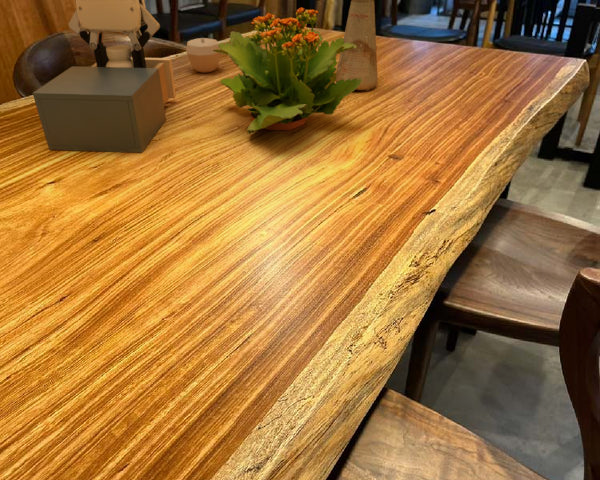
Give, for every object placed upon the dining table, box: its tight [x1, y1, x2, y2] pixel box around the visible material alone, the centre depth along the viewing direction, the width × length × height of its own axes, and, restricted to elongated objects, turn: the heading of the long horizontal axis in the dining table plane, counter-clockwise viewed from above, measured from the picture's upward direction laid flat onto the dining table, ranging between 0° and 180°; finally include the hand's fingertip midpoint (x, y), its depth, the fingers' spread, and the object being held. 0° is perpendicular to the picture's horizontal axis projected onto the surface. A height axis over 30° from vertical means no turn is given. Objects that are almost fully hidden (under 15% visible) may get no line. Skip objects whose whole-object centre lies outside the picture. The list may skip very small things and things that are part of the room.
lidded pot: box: [185, 37, 222, 74], centre depth 117 cm, size 8×8×7 cm
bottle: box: [335, 0, 379, 91], centre depth 102 cm, size 9×9×28 cm
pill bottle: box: [106, 44, 134, 68], centre depth 92 cm, size 5×5×9 cm
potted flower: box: [213, 7, 362, 135], centre depth 89 cm, size 25×24×18 cm
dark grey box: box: [32, 65, 167, 154], centre depth 85 cm, size 15×15×9 cm
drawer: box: [90, 56, 177, 105], centre depth 96 cm, size 18×13×7 cm
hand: (122, 72), depth 92 cm, fingers closed on pill bottle, 5 cm apart
